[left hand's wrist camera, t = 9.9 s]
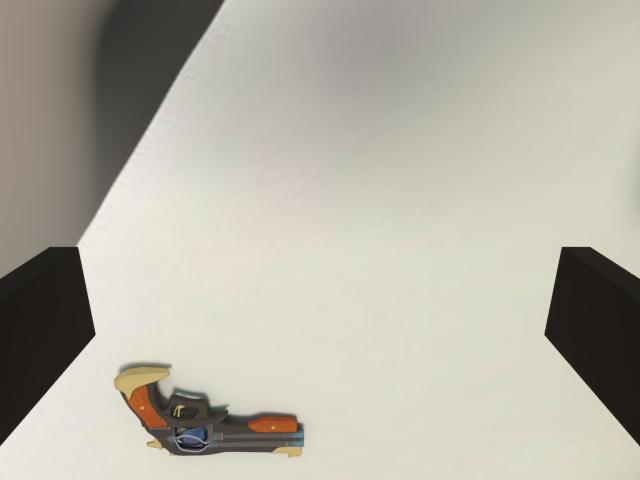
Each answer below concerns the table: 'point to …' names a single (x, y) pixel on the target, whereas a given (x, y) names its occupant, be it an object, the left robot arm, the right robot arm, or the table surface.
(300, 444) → the toy gun
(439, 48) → the table surface
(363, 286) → the table surface
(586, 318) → the left robot arm
